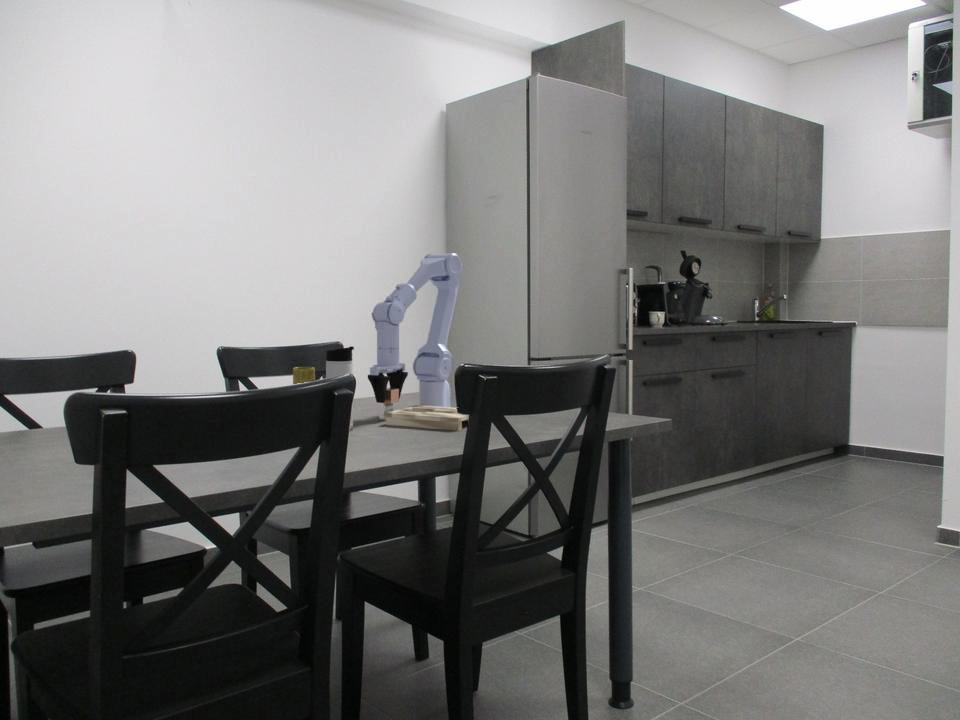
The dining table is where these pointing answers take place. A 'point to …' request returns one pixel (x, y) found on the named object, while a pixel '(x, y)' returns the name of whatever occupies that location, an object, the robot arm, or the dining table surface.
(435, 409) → the keyhole plate
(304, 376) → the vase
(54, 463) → the dining table surface
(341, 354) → the travel mug
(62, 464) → the dining table surface
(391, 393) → the keyhole peg
